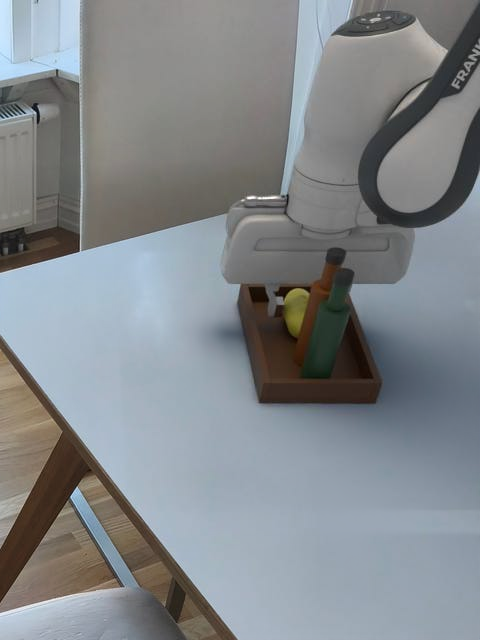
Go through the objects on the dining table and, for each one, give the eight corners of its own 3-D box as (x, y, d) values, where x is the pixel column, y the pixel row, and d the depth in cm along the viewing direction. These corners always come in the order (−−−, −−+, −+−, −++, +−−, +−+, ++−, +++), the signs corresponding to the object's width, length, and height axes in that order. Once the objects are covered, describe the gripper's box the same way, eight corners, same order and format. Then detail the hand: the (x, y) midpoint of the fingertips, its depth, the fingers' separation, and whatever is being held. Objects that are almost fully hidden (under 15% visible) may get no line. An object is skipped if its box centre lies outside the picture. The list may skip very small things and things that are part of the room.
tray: (339, 302, 109) (345, 282, 107) (375, 403, 96) (382, 383, 94) (237, 302, 110) (240, 283, 108) (258, 402, 97) (263, 382, 95)
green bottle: (325, 373, 99) (357, 264, 89) (330, 390, 97) (364, 280, 87) (296, 373, 99) (325, 264, 89) (301, 390, 97) (331, 280, 87)
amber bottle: (319, 352, 102) (349, 243, 92) (323, 368, 100) (356, 259, 90) (290, 352, 102) (318, 243, 92) (295, 368, 100) (324, 259, 90)
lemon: (279, 344, 103) (287, 313, 100) (278, 307, 108) (285, 277, 105) (316, 346, 102) (325, 316, 99) (313, 309, 107) (321, 279, 104)
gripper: (234, 209, 92) (213, 329, 102) (435, 208, 91) (392, 329, 101) (227, 182, 96) (207, 300, 106) (419, 181, 94) (380, 300, 105)
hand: (299, 314), depth 104 cm, fingers closed on lemon, 4 cm apart
